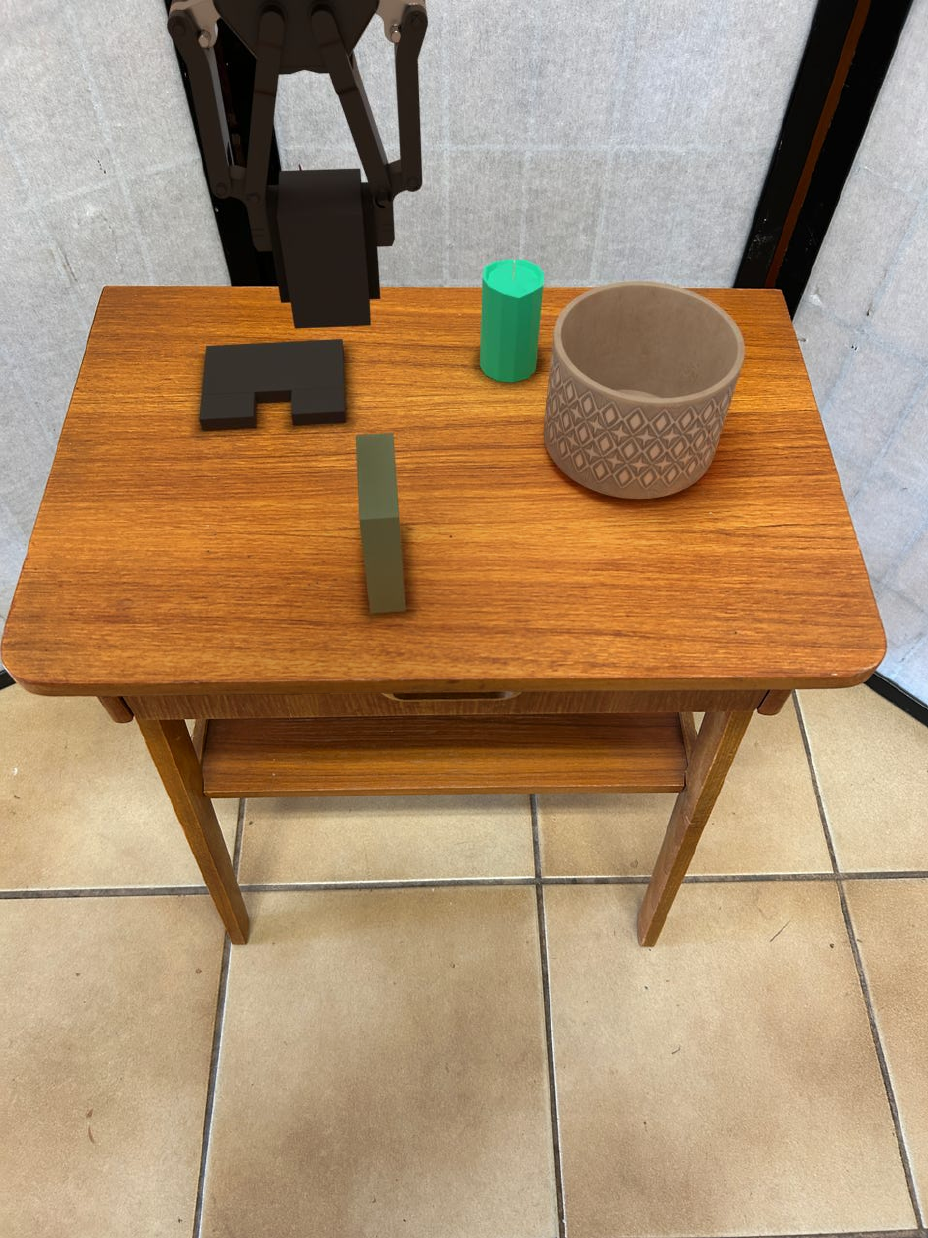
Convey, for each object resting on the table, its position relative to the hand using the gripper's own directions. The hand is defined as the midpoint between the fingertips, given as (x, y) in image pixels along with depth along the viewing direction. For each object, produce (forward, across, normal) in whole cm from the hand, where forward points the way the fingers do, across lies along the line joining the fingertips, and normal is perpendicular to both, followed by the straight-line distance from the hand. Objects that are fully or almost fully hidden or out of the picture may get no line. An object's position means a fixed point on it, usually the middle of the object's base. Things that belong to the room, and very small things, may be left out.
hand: (330, 287), depth 63 cm
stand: (+27, -2, +3) cm, 27 cm away
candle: (+27, -16, -24) cm, 39 cm away
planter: (+27, -26, -11) cm, 39 cm away
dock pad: (+27, +8, -21) cm, 35 cm away
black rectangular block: (+1, 0, -2) cm, 2 cm away
